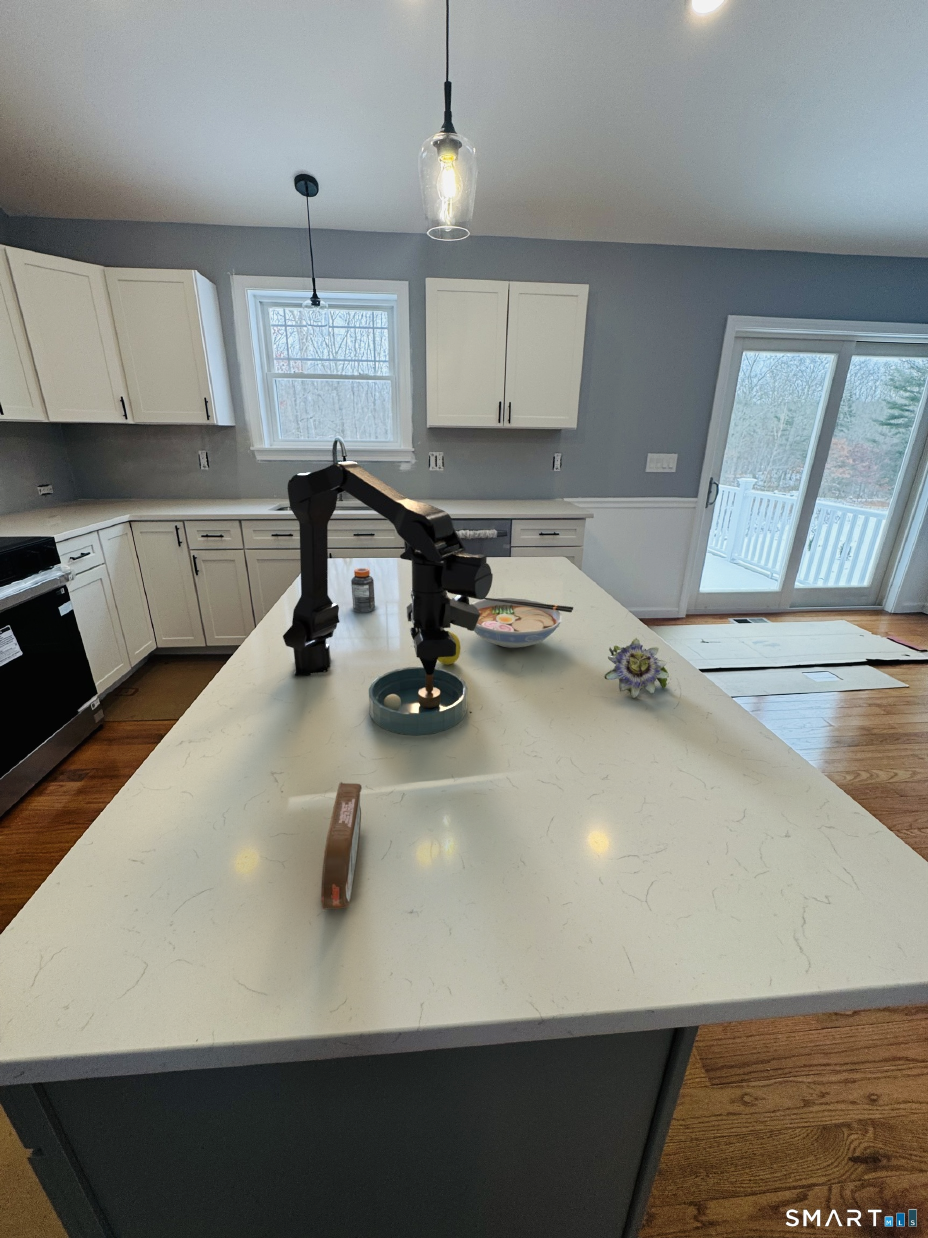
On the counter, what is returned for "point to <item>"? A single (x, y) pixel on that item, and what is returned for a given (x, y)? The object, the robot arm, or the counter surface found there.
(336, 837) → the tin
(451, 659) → the lemon
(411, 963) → the counter surface
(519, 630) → the ramen bowl
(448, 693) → the bowl
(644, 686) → the passion flower
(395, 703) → the dough ball
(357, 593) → the pill bottle
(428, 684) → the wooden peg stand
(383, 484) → the robot arm
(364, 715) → the counter surface
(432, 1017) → the counter surface
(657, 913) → the counter surface
